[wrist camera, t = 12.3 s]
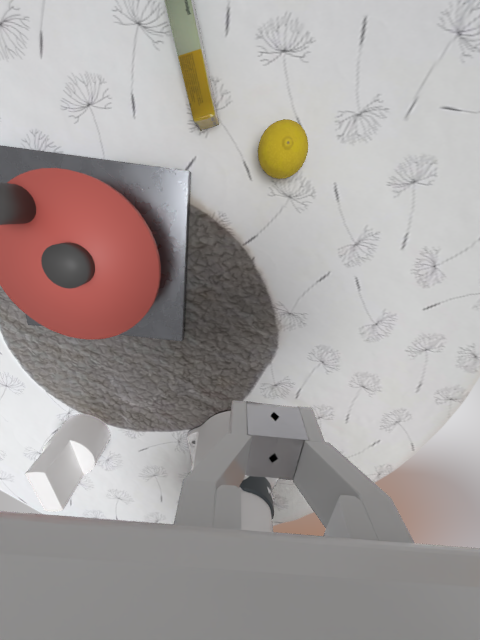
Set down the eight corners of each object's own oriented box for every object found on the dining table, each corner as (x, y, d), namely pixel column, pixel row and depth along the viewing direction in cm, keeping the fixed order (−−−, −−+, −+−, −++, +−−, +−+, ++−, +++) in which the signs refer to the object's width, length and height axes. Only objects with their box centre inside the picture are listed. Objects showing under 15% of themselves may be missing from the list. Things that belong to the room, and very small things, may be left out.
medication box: (168, 1, 28) (156, -30, 25) (192, -7, 28) (183, -40, 24) (199, 132, 33) (193, 122, 29) (220, 126, 32) (217, 115, 29)
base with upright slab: (57, 414, 50) (4, 473, 39) (104, 412, 49) (64, 470, 38) (71, 449, 53) (26, 512, 42) (115, 447, 53) (82, 510, 42)
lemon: (247, 163, 34) (249, 149, 26) (274, 121, 32) (284, 93, 25) (281, 191, 35) (291, 185, 28) (308, 151, 33) (327, 134, 26)
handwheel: (193, 281, 33) (183, 295, 27) (85, 360, 38) (57, 386, 32) (71, 125, 27) (25, 102, 21) (-41, 242, 31) (-105, 248, 26)
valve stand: (183, 337, 43) (175, 355, 38) (34, 320, 42) (2, 337, 37) (190, 172, 34) (180, 164, 28) (1, 147, 33) (-48, 133, 28)
